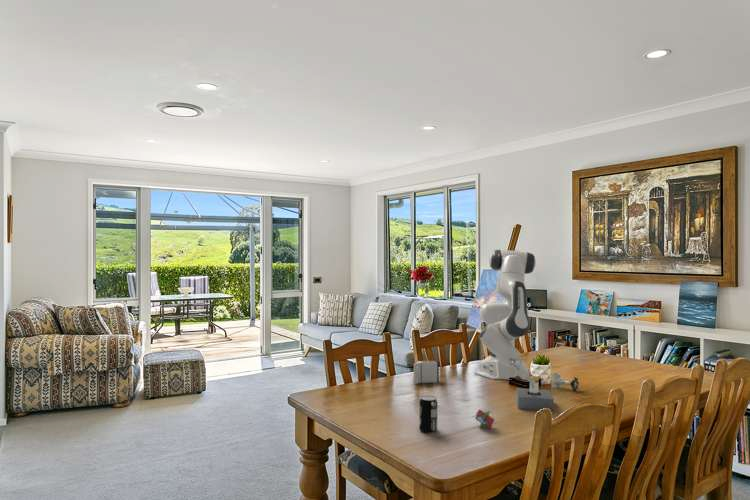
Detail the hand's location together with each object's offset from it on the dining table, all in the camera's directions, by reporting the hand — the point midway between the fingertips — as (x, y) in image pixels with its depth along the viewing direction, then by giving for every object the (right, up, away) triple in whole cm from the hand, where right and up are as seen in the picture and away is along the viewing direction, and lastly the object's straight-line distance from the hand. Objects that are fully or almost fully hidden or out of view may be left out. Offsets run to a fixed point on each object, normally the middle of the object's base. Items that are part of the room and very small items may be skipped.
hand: (533, 380), depth 217 cm
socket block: (0, -10, 0) cm, 10 cm away
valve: (+23, -11, +26) cm, 36 cm away
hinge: (-43, -10, +37) cm, 57 cm away
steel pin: (0, -9, 0) cm, 9 cm away
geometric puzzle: (-27, -10, -29) cm, 41 cm away
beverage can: (-49, -10, -32) cm, 59 cm away
